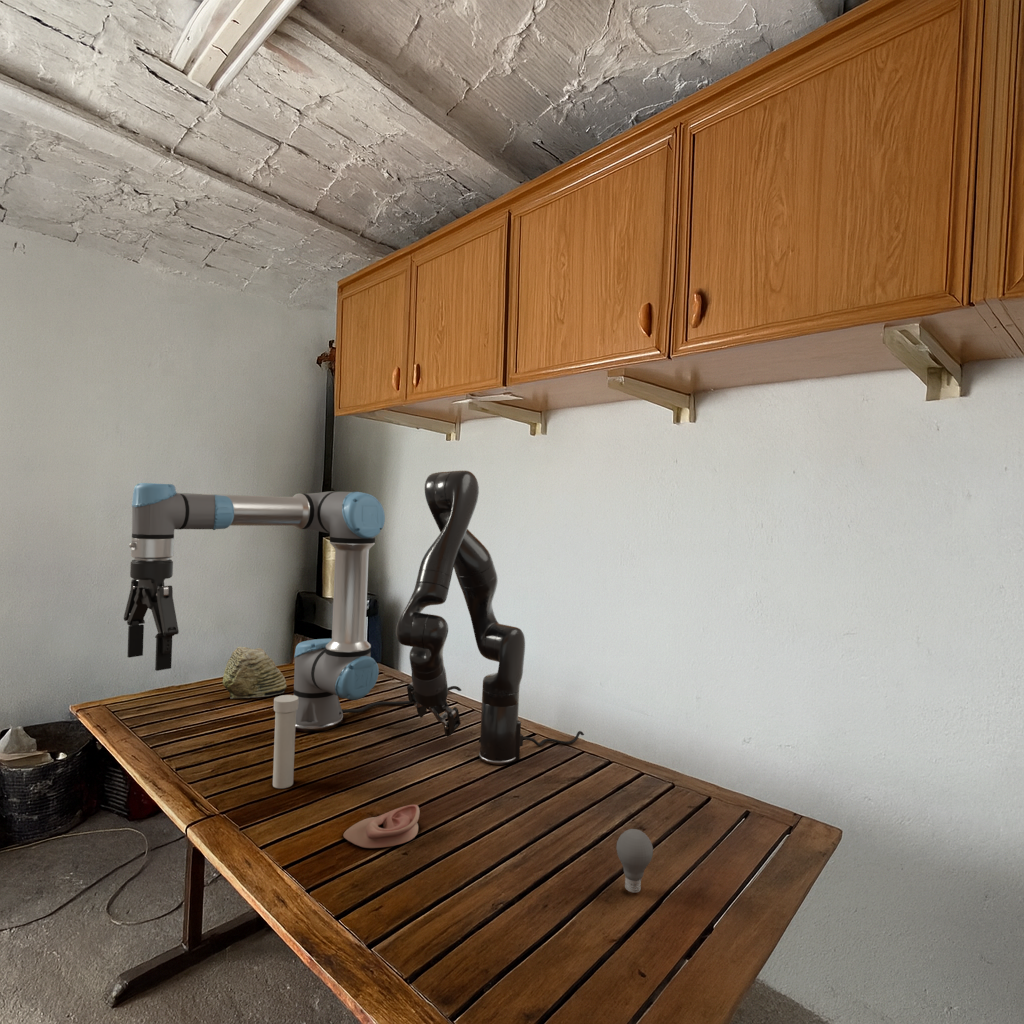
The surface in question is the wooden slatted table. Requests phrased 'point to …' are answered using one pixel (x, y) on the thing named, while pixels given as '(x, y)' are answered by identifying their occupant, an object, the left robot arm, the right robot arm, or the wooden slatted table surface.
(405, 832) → the anatomical model
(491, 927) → the wooden slatted table surface
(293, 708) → the lid
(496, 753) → the right robot arm
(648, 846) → the light bulb
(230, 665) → the fossil
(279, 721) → the off-white cylindrical rod
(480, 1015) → the wooden slatted table surface
